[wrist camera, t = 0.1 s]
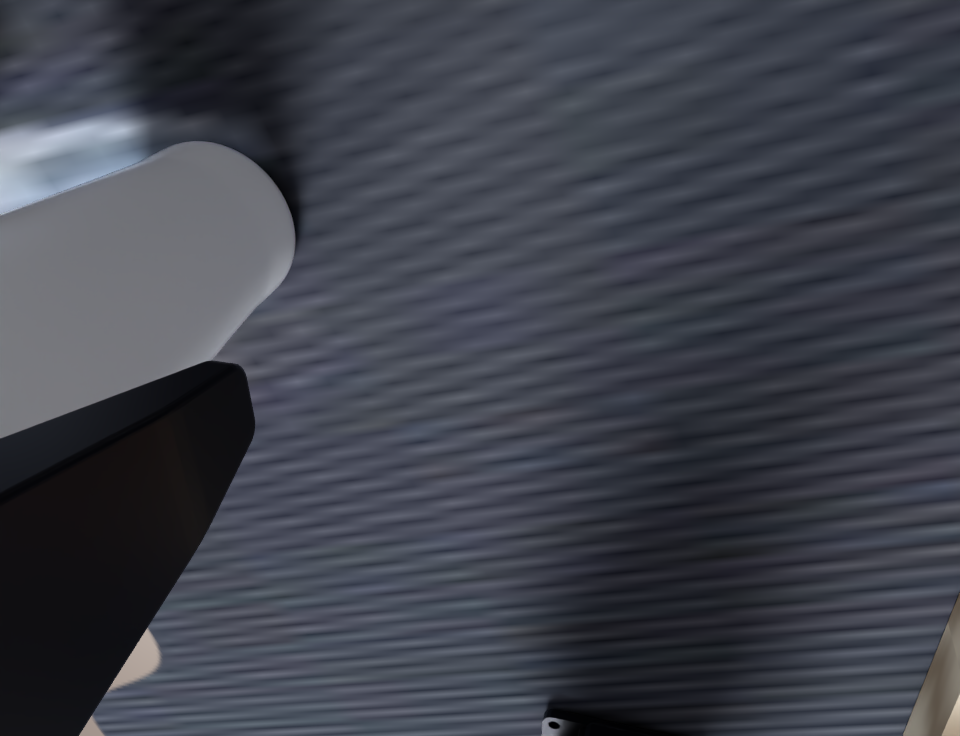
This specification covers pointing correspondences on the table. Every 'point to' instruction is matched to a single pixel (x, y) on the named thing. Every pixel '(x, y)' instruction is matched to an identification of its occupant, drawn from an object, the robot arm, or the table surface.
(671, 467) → the table surface
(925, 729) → the pin board
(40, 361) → the drinking glass
